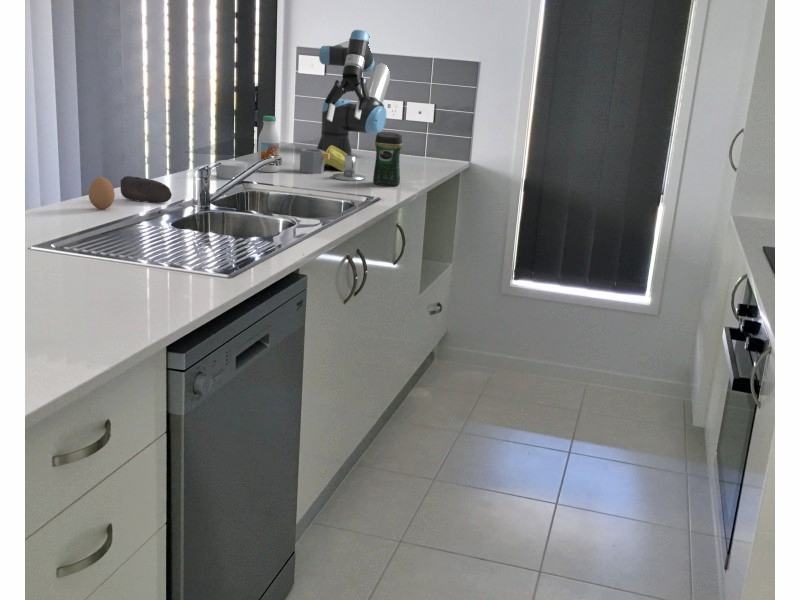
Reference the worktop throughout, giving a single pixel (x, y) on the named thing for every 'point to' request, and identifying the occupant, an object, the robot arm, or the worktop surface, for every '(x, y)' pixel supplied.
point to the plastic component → (335, 158)
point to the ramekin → (230, 168)
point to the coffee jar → (387, 159)
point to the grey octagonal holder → (312, 160)
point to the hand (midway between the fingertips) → (342, 119)
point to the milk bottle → (268, 143)
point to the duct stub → (349, 171)
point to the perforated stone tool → (144, 189)
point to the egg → (101, 193)
